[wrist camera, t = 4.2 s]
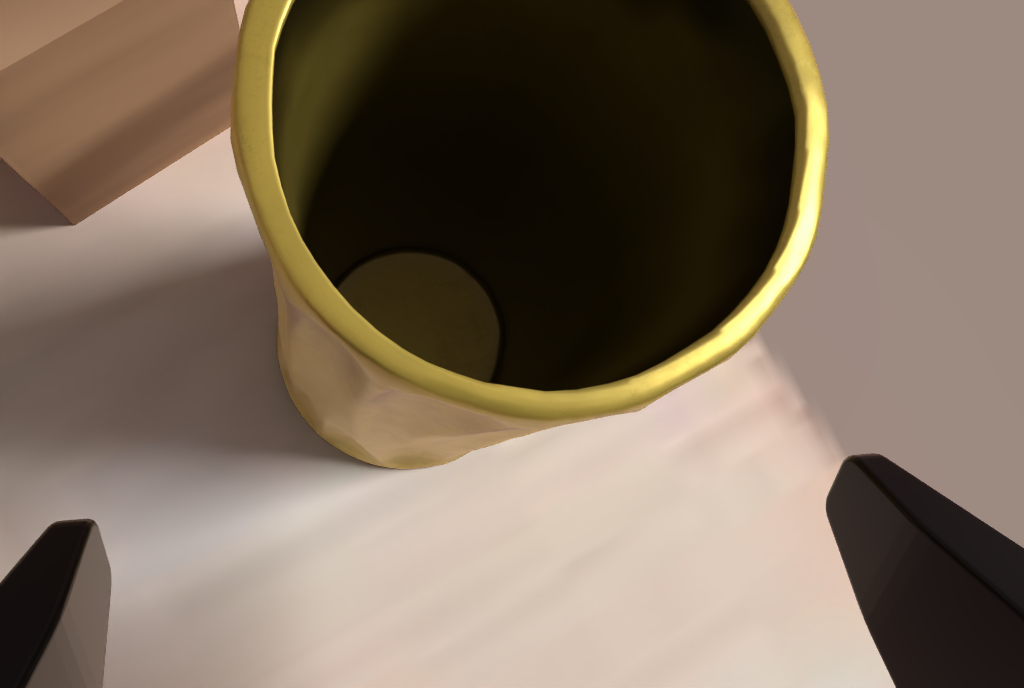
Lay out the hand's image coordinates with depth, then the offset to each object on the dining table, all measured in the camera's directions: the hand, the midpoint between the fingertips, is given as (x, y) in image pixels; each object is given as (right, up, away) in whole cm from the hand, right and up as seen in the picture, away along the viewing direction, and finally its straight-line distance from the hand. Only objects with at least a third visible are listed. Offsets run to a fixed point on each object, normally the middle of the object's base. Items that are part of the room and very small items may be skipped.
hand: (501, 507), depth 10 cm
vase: (-2, +2, +11) cm, 11 cm away
